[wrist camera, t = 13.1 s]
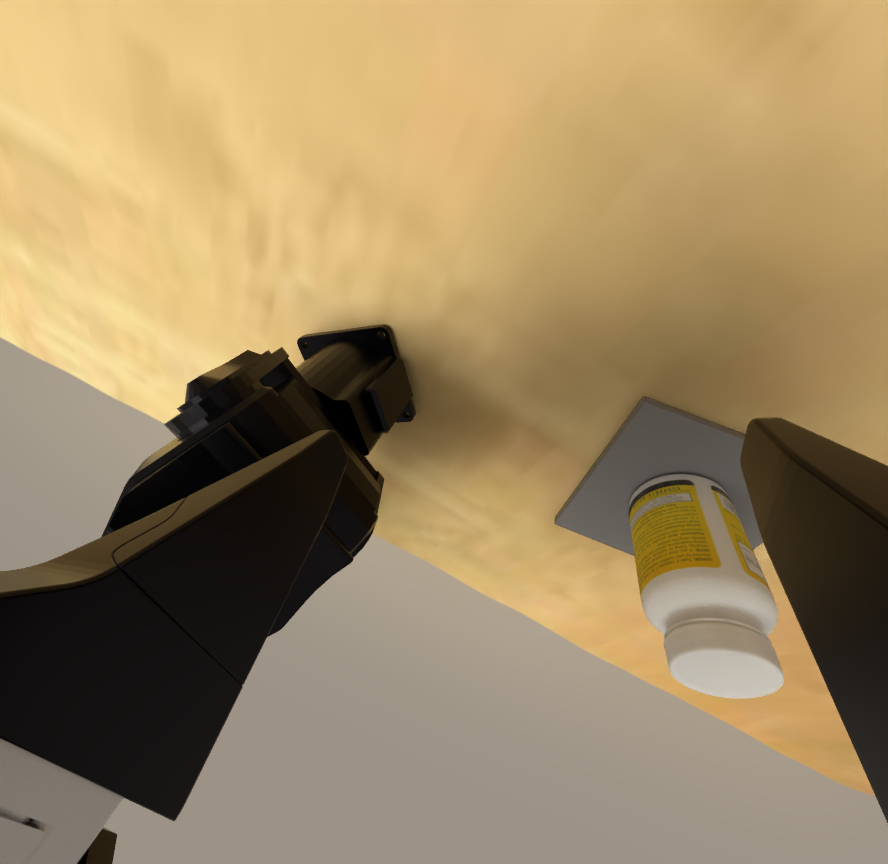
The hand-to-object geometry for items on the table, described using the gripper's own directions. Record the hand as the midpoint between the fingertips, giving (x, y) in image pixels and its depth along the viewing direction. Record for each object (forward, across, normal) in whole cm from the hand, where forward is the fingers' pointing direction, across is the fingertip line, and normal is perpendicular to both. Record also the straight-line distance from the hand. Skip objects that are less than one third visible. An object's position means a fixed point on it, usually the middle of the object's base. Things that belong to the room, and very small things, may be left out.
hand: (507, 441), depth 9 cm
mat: (+13, -7, +14) cm, 20 cm away
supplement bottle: (+13, -7, +14) cm, 20 cm away
